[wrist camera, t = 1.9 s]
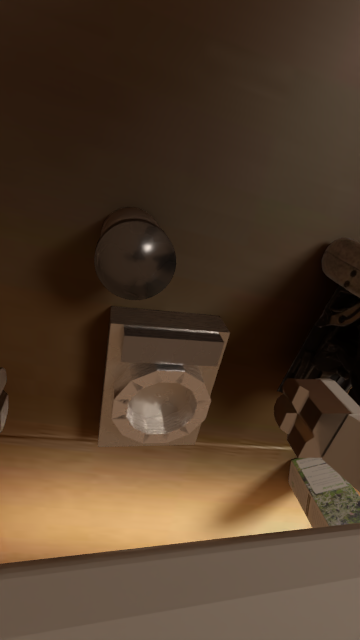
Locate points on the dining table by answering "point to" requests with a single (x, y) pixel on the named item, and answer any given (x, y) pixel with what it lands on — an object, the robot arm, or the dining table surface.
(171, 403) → the mount
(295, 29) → the dining table surface
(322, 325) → the vintage camera
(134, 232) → the knob
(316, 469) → the syrup box
